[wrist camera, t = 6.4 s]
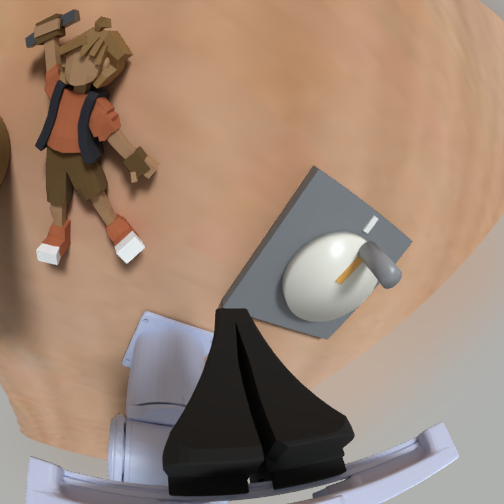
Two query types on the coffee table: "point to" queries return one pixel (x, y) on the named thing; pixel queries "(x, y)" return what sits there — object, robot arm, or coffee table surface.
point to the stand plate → (295, 237)
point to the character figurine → (83, 129)
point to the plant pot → (4, 150)
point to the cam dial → (335, 275)
